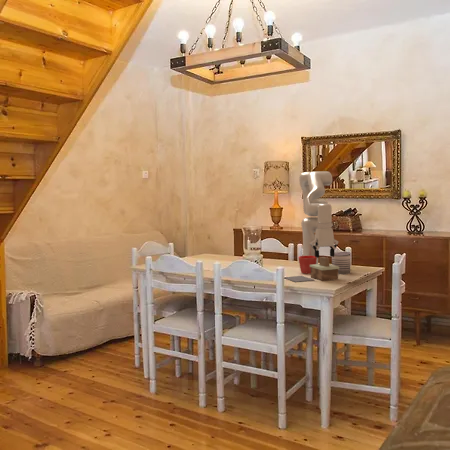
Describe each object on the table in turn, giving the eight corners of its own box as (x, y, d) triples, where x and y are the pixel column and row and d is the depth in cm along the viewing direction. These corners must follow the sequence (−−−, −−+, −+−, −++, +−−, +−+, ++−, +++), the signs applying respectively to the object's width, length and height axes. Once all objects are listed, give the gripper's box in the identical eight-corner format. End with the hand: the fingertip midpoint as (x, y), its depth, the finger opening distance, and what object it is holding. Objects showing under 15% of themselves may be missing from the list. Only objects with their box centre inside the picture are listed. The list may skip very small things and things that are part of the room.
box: (310, 277, 293) (310, 266, 293) (326, 276, 297) (326, 265, 296) (322, 281, 282) (322, 270, 281) (338, 279, 285) (338, 268, 285)
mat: (283, 278, 292) (283, 277, 292) (301, 276, 297) (301, 275, 297) (295, 282, 279) (295, 281, 279) (314, 280, 284) (314, 279, 284)
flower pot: (295, 272, 311) (295, 256, 311) (311, 270, 315) (311, 255, 314) (303, 274, 301) (303, 258, 301) (320, 273, 305) (320, 257, 304)
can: (353, 274, 302) (353, 253, 301) (334, 274, 301) (334, 254, 300) (347, 271, 313) (347, 251, 312) (329, 271, 313) (329, 251, 312)
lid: (309, 268, 293) (309, 256, 292) (326, 267, 297) (326, 255, 296) (322, 272, 281) (322, 259, 280) (339, 270, 285) (339, 258, 284)
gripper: (334, 225, 293) (334, 255, 294) (307, 226, 287) (307, 257, 288) (341, 226, 286) (341, 256, 287) (314, 227, 280) (314, 258, 281)
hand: (324, 256), depth 288 cm, fingers open, 9 cm apart
